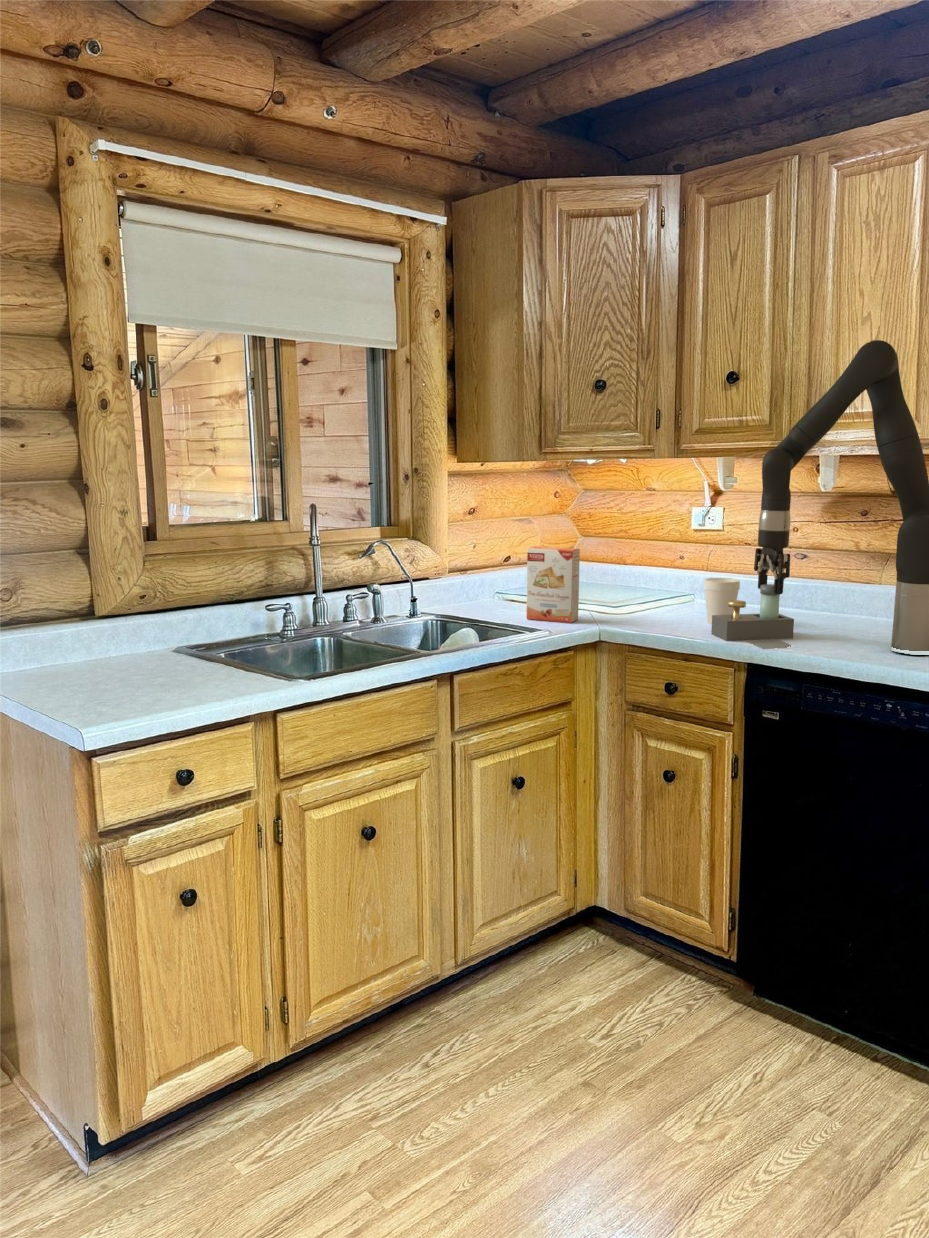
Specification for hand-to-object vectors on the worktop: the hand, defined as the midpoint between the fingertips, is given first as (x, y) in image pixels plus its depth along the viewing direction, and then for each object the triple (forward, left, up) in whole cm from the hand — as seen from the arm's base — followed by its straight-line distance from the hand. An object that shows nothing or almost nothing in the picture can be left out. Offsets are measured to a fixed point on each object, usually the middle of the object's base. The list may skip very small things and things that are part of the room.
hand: (769, 591), depth 245 cm
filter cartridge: (0, 0, -12) cm, 12 cm away
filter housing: (+4, 0, -13) cm, 13 cm away
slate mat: (+4, +11, -13) cm, 17 cm away
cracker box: (+47, -37, -13) cm, 61 cm away
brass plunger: (+9, 0, -12) cm, 15 cm away
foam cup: (+4, -19, -13) cm, 23 cm away
